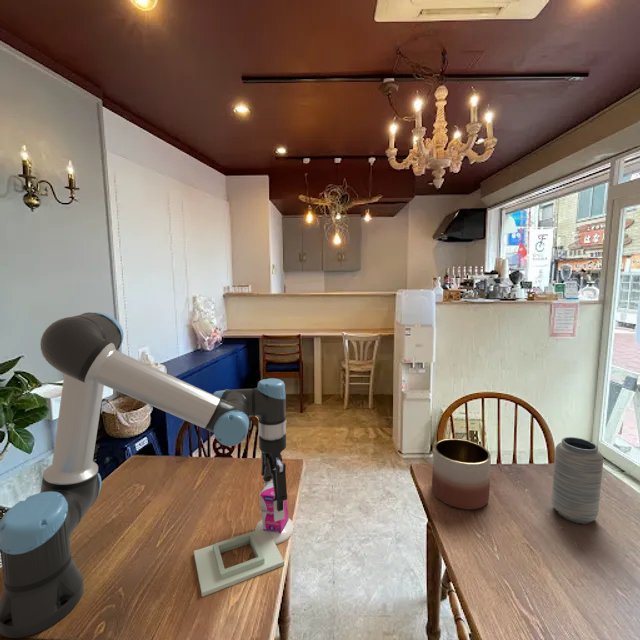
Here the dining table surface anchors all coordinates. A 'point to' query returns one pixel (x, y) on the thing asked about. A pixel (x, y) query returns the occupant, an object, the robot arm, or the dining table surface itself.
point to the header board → (220, 578)
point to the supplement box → (271, 510)
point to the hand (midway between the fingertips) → (274, 510)
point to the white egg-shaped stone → (279, 536)
